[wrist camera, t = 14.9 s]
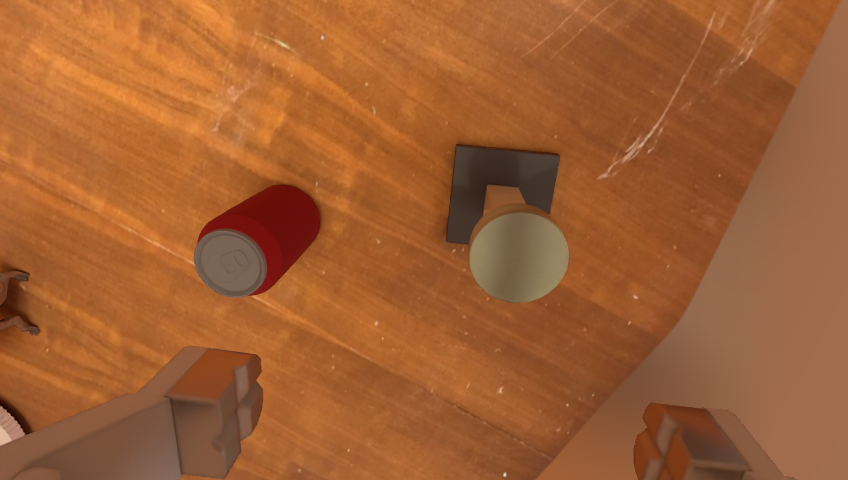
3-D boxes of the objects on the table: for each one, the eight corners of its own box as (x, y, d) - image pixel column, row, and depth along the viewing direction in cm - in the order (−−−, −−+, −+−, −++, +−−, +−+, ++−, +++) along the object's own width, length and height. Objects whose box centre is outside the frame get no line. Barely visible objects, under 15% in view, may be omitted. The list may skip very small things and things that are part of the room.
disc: (570, 207, 28) (578, 217, 26) (553, 293, 30) (559, 308, 28) (474, 198, 28) (474, 207, 27) (464, 284, 31) (463, 298, 29)
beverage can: (242, 200, 44) (165, 244, 33) (299, 170, 42) (239, 205, 31) (279, 258, 46) (219, 318, 35) (335, 231, 44) (291, 285, 33)
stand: (557, 153, 40) (599, 189, 28) (540, 247, 43) (570, 318, 31) (456, 143, 40) (452, 174, 28) (446, 237, 44) (438, 303, 31)
